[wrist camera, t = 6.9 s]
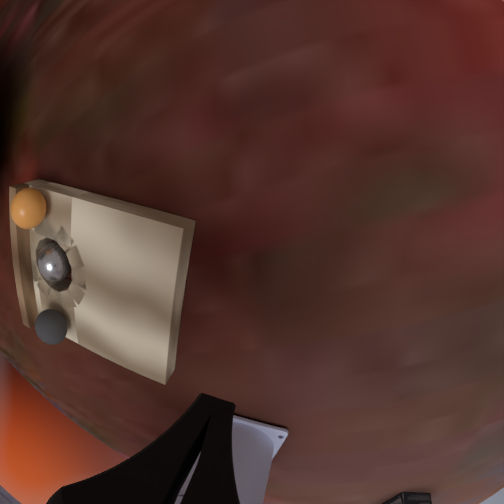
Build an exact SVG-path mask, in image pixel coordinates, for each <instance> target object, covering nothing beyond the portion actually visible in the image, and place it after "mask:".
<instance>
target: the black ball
mask: <svg viewBox="0 0 504 504" xmlns="http://www.w3.org/2000/svg"><path fill="white" fill-rule="evenodd" d="M35 329H36V333H37V335H38V336H39V338H40V339H41V340H42V341H43V342H45V343H47V344H52V345H54V344H58V343H60V342H61V341H62V340H63V339H64V338H65V336H66V334H67V323H66V320H65V318H64V317H63V315H62V314H61V313H60V312H58V311H56V310H54V309H46V310H43V311H42V312H41V313H40V314H39V315H38V316H37V318H36V322H35Z"/></svg>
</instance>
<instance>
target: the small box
mask: <svg viewBox="0 0 504 504" xmlns="http://www.w3.org/2000/svg"><path fill="white" fill-rule="evenodd" d="M383 504H432V502H431V495H430V493H410V492H402V493H400V494H399V495H397V496H395V497H394V498H392V499H390V500H389V501H387V502H385V503H383Z"/></svg>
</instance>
